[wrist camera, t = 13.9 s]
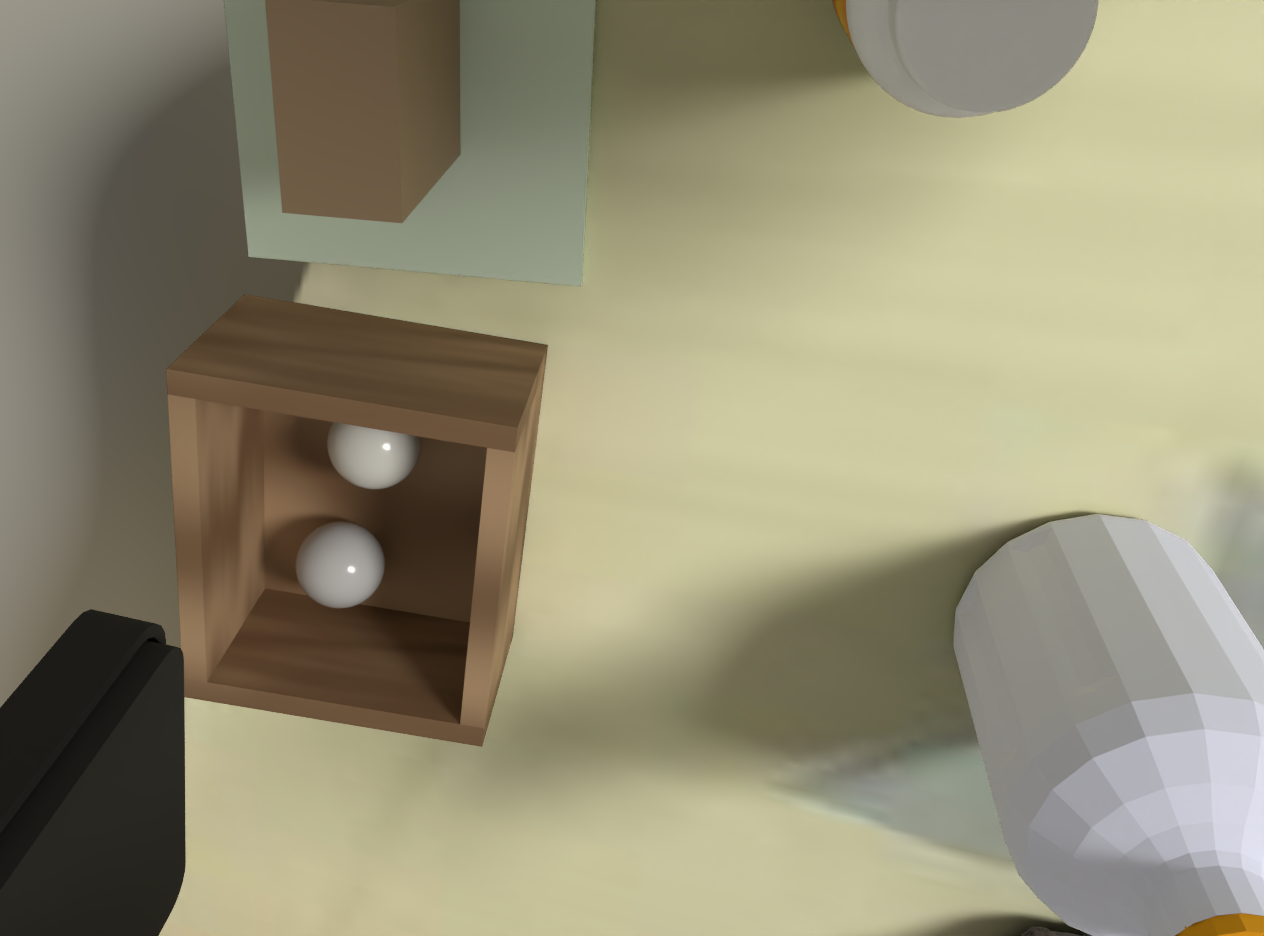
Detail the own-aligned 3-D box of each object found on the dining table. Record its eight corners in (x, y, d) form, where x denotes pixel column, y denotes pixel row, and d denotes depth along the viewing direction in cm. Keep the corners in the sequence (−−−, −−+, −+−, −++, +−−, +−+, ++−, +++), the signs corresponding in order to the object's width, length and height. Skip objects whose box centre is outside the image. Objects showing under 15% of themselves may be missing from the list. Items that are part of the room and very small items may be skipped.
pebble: (311, 499, 41) (283, 544, 38) (396, 512, 41) (373, 559, 38) (311, 569, 42) (283, 618, 40) (392, 582, 42) (370, 632, 40)
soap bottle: (912, 680, 43) (1084, 1515, 22) (1017, 476, 39) (1361, 1271, 18) (1137, 742, 44) (1520, 1616, 22) (1265, 548, 40) (1894, 1404, 18)
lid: (215, -201, 32) (72, -210, 25) (605, -172, 31) (569, -173, 24) (257, 248, 38) (151, 341, 31) (584, 277, 37) (550, 377, 30)
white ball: (344, 375, 38) (315, 414, 36) (433, 390, 38) (411, 431, 36) (341, 453, 40) (313, 497, 37) (428, 468, 40) (406, 513, 37)
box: (244, 294, 38) (166, 369, 33) (547, 345, 38) (517, 427, 33) (249, 592, 44) (183, 697, 39) (512, 636, 44) (482, 746, 39)
